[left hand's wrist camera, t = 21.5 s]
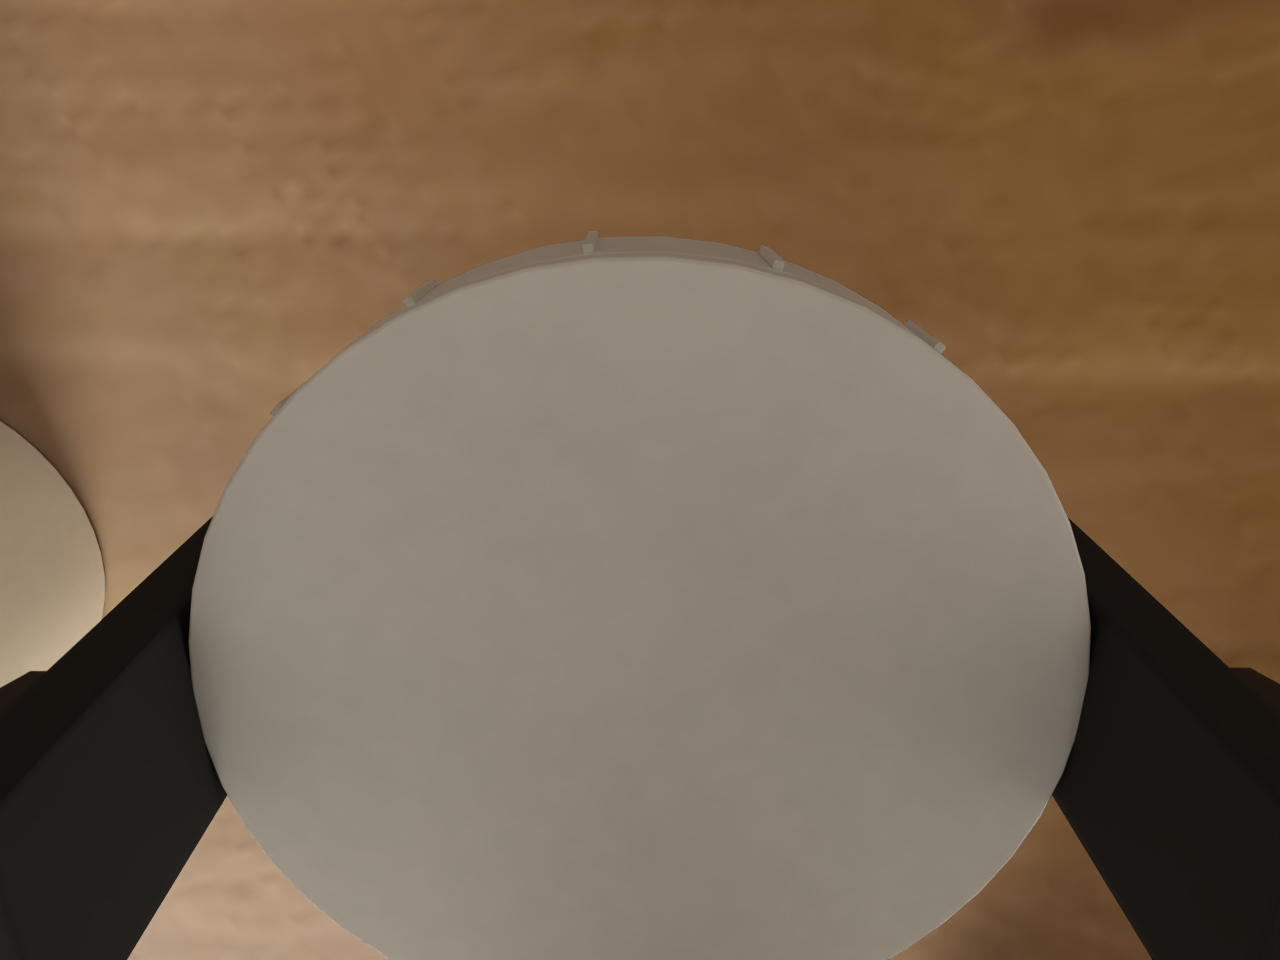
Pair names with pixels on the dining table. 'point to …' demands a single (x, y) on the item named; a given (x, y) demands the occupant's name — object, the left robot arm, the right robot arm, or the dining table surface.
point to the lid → (639, 619)
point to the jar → (42, 562)
